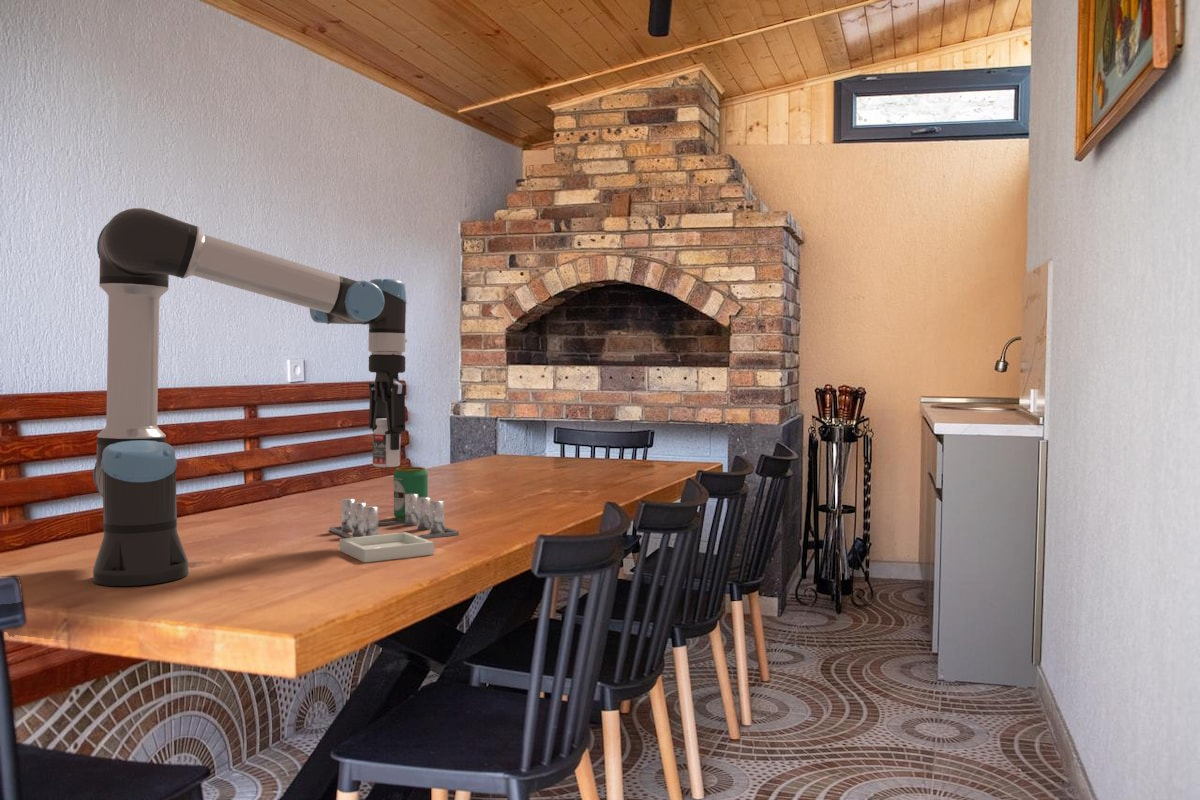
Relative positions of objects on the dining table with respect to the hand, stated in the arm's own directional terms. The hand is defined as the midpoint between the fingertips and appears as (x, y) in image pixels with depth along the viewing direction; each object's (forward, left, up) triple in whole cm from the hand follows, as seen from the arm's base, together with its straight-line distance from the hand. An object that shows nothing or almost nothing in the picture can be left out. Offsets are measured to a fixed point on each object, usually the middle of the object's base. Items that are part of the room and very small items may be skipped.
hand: (386, 464), depth 212 cm
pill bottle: (0, 0, -1) cm, 1 cm away
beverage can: (+16, +25, -16) cm, 33 cm away
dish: (-5, -13, -16) cm, 21 cm away
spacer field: (+5, +9, -16) cm, 19 cm away
